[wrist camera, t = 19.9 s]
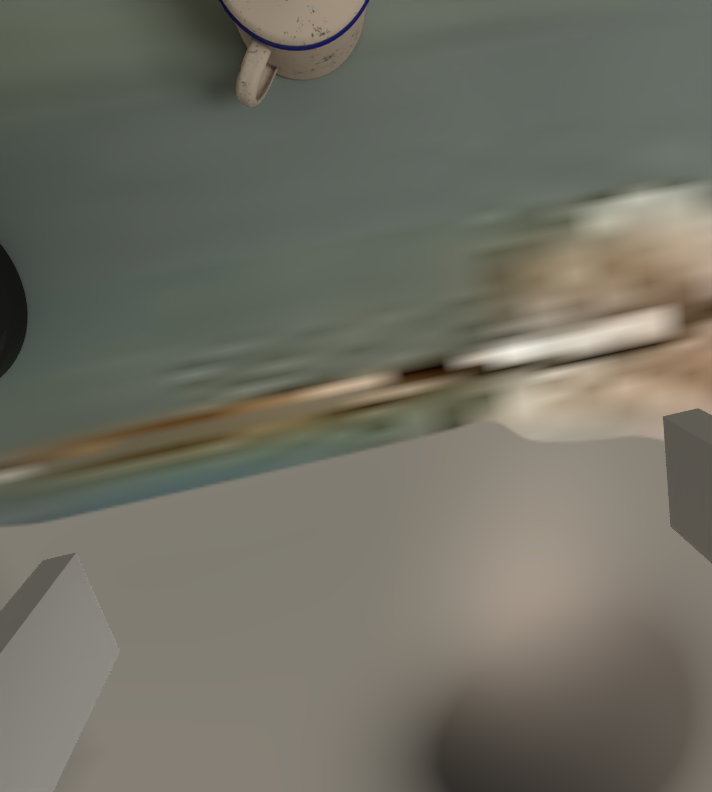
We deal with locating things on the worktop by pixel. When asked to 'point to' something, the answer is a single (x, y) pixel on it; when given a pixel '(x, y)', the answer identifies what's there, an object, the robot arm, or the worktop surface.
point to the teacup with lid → (292, 40)
